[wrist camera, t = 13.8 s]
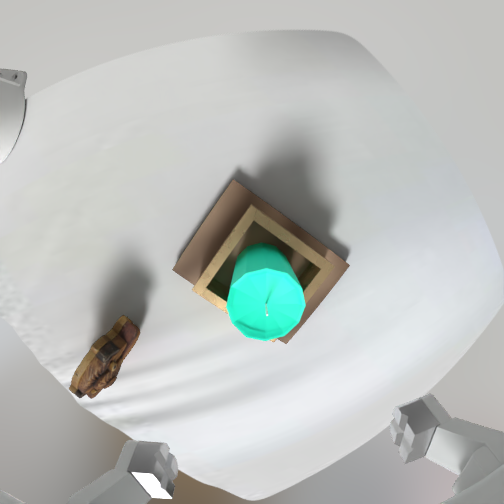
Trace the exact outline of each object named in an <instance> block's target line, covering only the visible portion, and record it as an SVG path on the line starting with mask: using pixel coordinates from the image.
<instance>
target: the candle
mask: <svg viewBox="0 0 504 504" xmlns="http://www.w3.org/2000/svg"><path fill="white" fill-rule="evenodd" d="M305 306H306V305H305V300H304V295H303V290H302V287H301V285H300V283H299V281H298V279H297V277H296V275H295V273H294V271H293V269H292V267H291V265H290V264H289V262H288V260H287V258H286V256H285V255H284V254H283V253H282V252H281V251H280V250H279V249H278V248H277V247H276V246H273V245H269V244H266V243H258V244H254V245H250V246H247V247H246V248H245V249H244V250H243V251H242V252H241V253H240V254H239V255H238V256H237V260H236V264H235V268H234V272H233V276H232V281H231V286H230V290H229V295H228V299H227V304H226V308H227V311H228V313H229V316H230V319H231V321H232V323H233V324H234V325H235V326H236V327H237V328H238V329H239V330H240V331H241V332H242V333H243V334H244V335H245V336H246V337H247V338H253V339H258V340H263V341H267V340H271V339H275V338H279V337H283V336H285V335H286V334H287V333H288V332H289V331H290V330H292V329H293V328H294V327H295V326H296V325H297V324H298V323H299V321H300V319H301V316H302V314H303V311H304V308H305Z"/></svg>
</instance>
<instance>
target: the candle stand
mask: <svg viewBox="0 0 504 504" xmlns="http://www.w3.org/2000/svg"><path fill="white" fill-rule="evenodd" d="M258 243H266V244H269V245H273V246H276V247H277V248H278V249H279V250H280V251H281V252H282V253H283V254H284V255H285V256H286V258H287V260H288V262H289V264H290V265H291V267H292V269H293V271H294V273H295V275H296V277H297V279H298V281H299V283H300V285H301V287H302V290H303V295H304V300H305V305H306V306H305V308H304V311H303V314H302V316H301V319H300V321H299V323H298V324H297V325H296V326H295V327H294V328H293V329H292V330H290V331H289V332H288V333H287V334H286V335H285V336H283V337H279V338H275V339H271V340H270V341H272V342H275V340H276V339H279V340H280V341H282V342H284V343H285V344H287V343H288V341H289V340H290V339H291V338H292V337H293V336H294V335H295V333H296V332H297V331H298V330H299V329H300V327H301V326H302V325H303V324H304V323H305V322H306V320H307V319H308V318H309V317H310V315H311V314H312V313H313V312H314V311H315V309H316V308H317V307H318V306H319V304H320V303H321V302H322V301H323V299H324V298H325V297H326V296H327V294H328V293H329V292H330V291H331V289H332V288H333V287H334V286H335V284H336V283H337V282H338V280H339V279H340V278H341V276H342V275H343V274H344V272H345V271H346V270H347V269H348V267H349V266H350V265H349V264H348V263H346V262H345V261H344V260H342V259H341V258H340V257H339V256H337V255H336V254H335V253H333V252H332V251H331V250H330V249H328V248H327V247H326V246H324V245H323V244H322V243H320V242H319V241H318V240H316V239H315V238H314V237H313V236H311V235H310V234H309V233H307V232H306V231H305V230H303V229H302V228H300V227H299V226H298V225H296V224H295V223H294V222H292V221H291V220H290V219H288V218H287V217H286V216H284V215H283V214H281V213H280V212H279V211H277V210H276V209H275V208H273V207H272V206H270V205H269V204H268V203H266V202H265V201H263V200H262V199H261V198H259V197H258V196H256V195H255V194H254V193H252V192H251V191H249V190H248V189H246V188H245V187H244V186H242V185H241V184H239V183H238V182H236V181H235V180H234V179H233V180H232V182H231V183H230V185H229V186H228V187H227V189H226V190H225V192H224V193H223V195H222V196H221V197H220V199H219V200H218V202H217V203H216V205H215V206H214V207H213V209H212V210H211V212H210V213H209V215H208V216H207V218H206V219H205V221H204V222H203V224H202V225H201V227H200V228H199V230H198V231H197V233H196V234H195V236H194V237H193V239H192V240H191V242H190V243H189V245H188V246H187V248H186V249H185V251H184V252H183V254H182V255H181V257H180V258H179V260H178V262H177V263H176V265H175V266H174V268H173V269H172V270H173V271H175V272H176V273H177V274H179V275H180V276H182V277H183V278H185V279H186V280H188V281H189V282H190V283H192V284H193V285H194V287H193V289H192V290H193V291H194V292H196V293H197V294H199V295H200V296H202V297H203V298H205V299H206V300H208V301H209V302H211V303H212V304H214V305H215V306H217V307H218V308H220V309H221V310H223V311H224V312H226V313H227V314H229V313H228V311H227V308H226V304H227V299H228V295H229V290H230V286H231V281H232V276H233V272H234V268H235V264H236V260H237V256H238V255H239V254H240V253H241V252H242V251H243V250H244V249H245V248H246V247H247V246H250V245H254V244H258Z"/></svg>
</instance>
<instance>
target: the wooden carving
mask: <svg viewBox="0 0 504 504" xmlns="http://www.w3.org/2000/svg"><path fill="white" fill-rule="evenodd" d="M139 335H140V330H139V328H138V327H137V326H136V325H134V324H133V323H132V321H131V320H130V319H129V318H128V317H126V316H125V315H123V316H121V317H120V318H119V319H118V320H117V322H116V323H115V325H114V326H113V328H112V329H111V330H110V331H109V332H108V333H107V334H106V335H104V336H102V337H101V338H99V339H98V340H97V341H96V342H95V343H94V344H93V345H92V347H91V349H90V350H89V352H88V353H87V354H86V356H85V357H84V359H83V360H82V362H81V363H80V365H79V366H78V368H77V369H76V371H75V373H74V375H73V377H72V381H71V386H70V387H69V390H70V391H71V392H72V393H74V394H75V395H76V396H77V397H79V398H82V397H83V396H84V395H86V394H87V395H88V396H89V397H90V398H94V397H95V396H96V395H97V394H98V393H99V392H100V391H101V390H102V389H103V388H104V389H105V388H107V387H109V386H111V385H112V384H113V383H114V382H115V380H116V378H117V377H116V376H117V375H118V372H119V370H120V367H121V364H122V362H123V360H124V359H125V357H126V356H127V355H128V354H129V352H130V351H131V349H132V348H133V346H134V345H135V343H136V341H137V340H138V337H139Z"/></svg>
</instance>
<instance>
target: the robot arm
mask: <svg viewBox="0 0 504 504" xmlns="http://www.w3.org/2000/svg"><path fill="white" fill-rule="evenodd" d="M26 78H27V73H26V72H23V71H16V70H8V69H0V164H1V163H2V162H3V161H4V160H5V159H6V158H7V156H8V155H9V153H10V152H11V150H12V148H13V146H14V144H15V142H16V140H17V138H18V135H19V132H20V129H21V126H22V122H23V117H24V111H25V96H24V87H25V83H26ZM392 415H393V416H394V419H393V420H392V421H391V424H390V434H391V437H392V440H393V442H394V444H396V445H398V446H400V449H399V454H400V456H401V458H402V460H403V462H404V463H405V464H406V463H408V462H411V461H414V460H417V459H419V458H422V457H424V456H425V457H426V458H428V459H429V460H431V461H433V462H435V463H436V464H438V465H440V466H442V467H444V468H446V469H448V470H450V471H452V472H454V473H456V474H458V475H459V477H458V478H457V480H456V481H455V483H454V485H453V486H452V490H453V492H454V494H455V496H453V497H451V498H450V499H448V500H446V501H444V502H442V503H440V504H504V433H503V432H502V431H498V430H495V429H491V428H488V427H484V426H481V425H478V424H474V423H471V422H468V421H465V420H462V419H458V418H453V419H452V418H451V417H450V415H449V414H448V413H447V412H446V410H445V409H444V408H443V407H442V406H441V404H440V403H439V402H438V400H437V399H436V398H435V397H434V395H432V394H428V395H425V396H423V397H420V398H417V399H415V400H412V401H410V402H407V403H404V404H402V405H399V406H396V407H395V408H394V409H393V413H392ZM169 449H170V448H169V446H168V445H167V443H159V442H146V441H134V440H128V441H127V442H126V443H125V445H124V447H123V450H122V452H121V454H120V457H119V459H118V462H117V464H116V467H115V469H114V470H109V471H108V472H107V473H105V474H104V475H102V476H101V477H99V478H98V479H96V480H95V481H94V482H92V483H90V484H89V485H87V486H86V487H84V488H82V489H81V490H79V491H78V492H76V493H75V494H73V495H72V496H70V498H69V500H68V503H67V504H146V503H147V502H148V501H149V500H150V499H151V497H155V498H168V499H172V497H173V492H174V487H175V485H174V483H173V482H172V480H173V479H175V478H176V477H177V472H178V464H177V461H176V458H175V456H174V455H172V454H171V453H169ZM0 504H26V503H24V502H23V501H21V500H19V499H17V498H15V497H14V496H12V495H10V494H9V493H7V492H5V491H3V490H1V489H0Z"/></svg>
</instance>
